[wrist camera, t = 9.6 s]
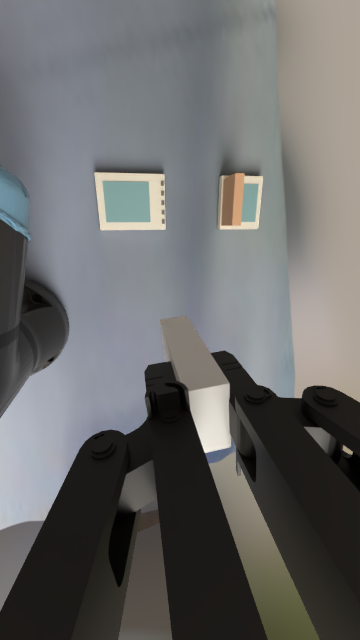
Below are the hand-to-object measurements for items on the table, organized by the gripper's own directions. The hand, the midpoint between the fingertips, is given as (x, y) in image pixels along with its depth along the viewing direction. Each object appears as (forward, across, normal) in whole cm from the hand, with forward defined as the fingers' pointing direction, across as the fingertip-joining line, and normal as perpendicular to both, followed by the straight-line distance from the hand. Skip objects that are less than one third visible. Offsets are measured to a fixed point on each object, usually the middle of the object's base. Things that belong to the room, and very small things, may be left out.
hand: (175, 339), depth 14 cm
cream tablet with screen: (+27, -1, +9) cm, 28 cm away
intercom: (+27, +15, +8) cm, 31 cm away
